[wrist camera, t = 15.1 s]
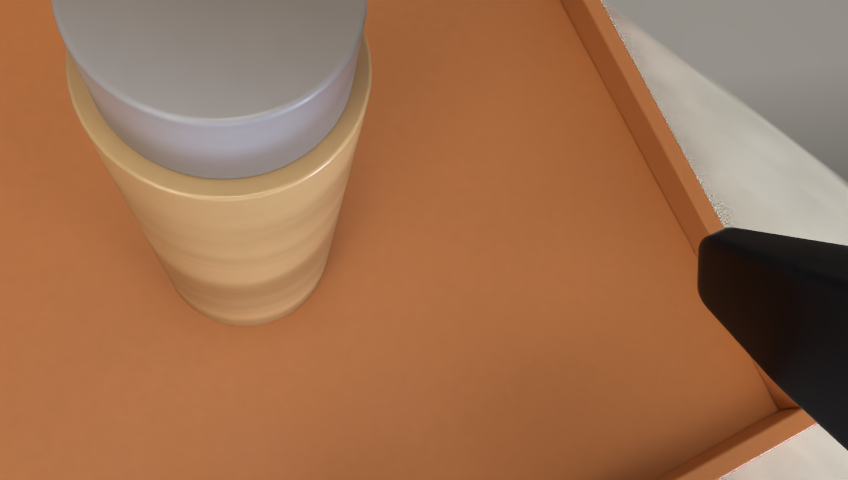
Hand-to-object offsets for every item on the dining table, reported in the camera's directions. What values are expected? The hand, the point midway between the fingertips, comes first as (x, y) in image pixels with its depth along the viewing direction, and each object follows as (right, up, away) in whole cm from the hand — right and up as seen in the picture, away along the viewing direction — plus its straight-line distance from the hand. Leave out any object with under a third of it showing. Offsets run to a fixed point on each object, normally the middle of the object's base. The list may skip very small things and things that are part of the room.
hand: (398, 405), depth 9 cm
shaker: (-5, +2, +13) cm, 14 cm away
